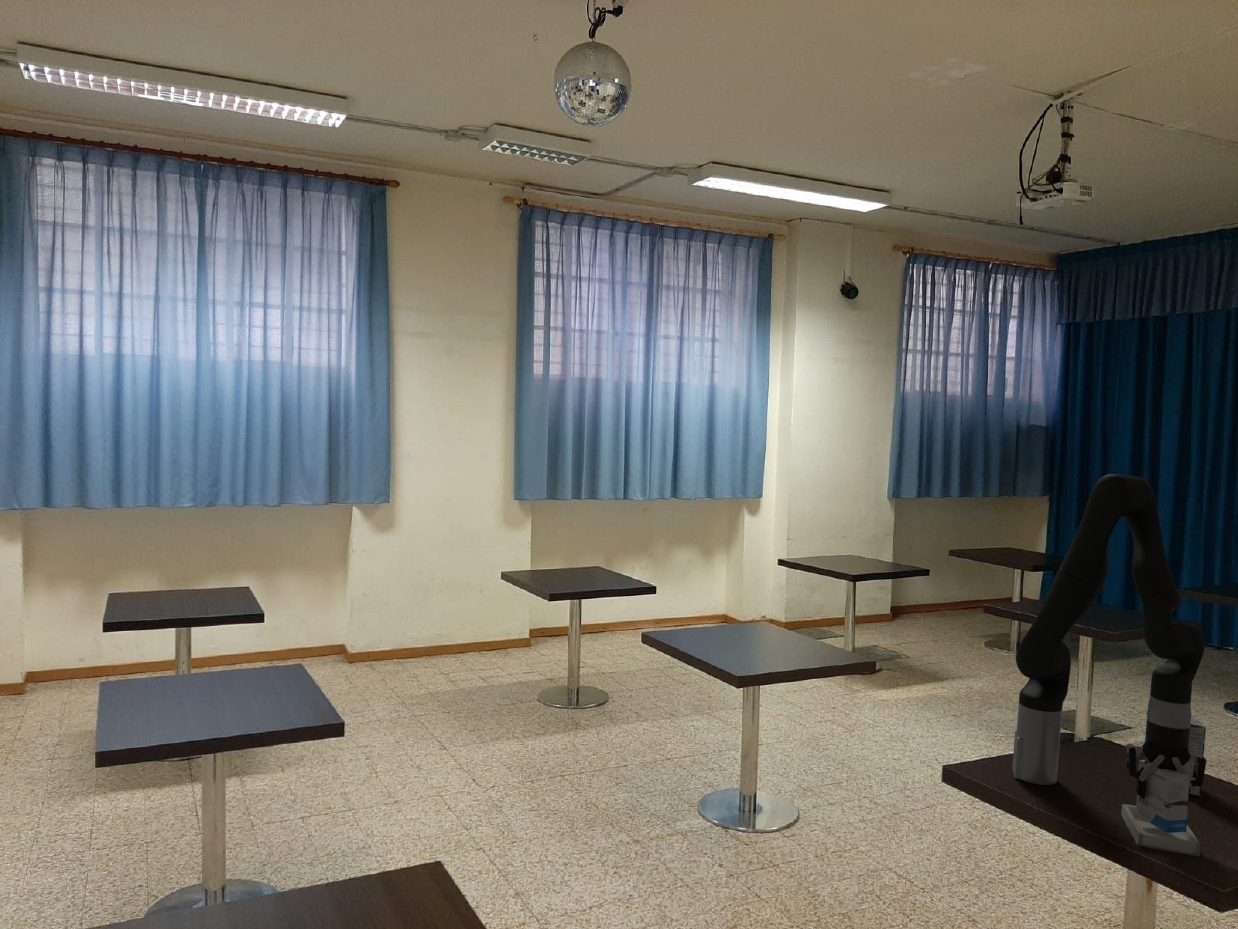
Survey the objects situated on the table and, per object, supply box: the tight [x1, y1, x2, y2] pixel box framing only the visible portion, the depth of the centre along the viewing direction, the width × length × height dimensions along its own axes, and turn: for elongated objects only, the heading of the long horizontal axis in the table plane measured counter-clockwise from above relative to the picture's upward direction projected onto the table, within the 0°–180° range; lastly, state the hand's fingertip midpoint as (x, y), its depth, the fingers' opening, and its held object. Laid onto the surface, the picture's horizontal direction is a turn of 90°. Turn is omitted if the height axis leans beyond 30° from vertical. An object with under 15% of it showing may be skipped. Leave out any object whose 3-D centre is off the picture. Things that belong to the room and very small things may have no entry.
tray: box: [1120, 803, 1202, 857], centre depth 180 cm, size 11×15×2 cm
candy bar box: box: [1182, 715, 1207, 797], centre depth 205 cm, size 11×5×16 cm, turn 168°
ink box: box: [1135, 759, 1189, 833], centre depth 179 cm, size 9×5×12 cm, turn 9°
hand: (1161, 800), depth 179 cm, fingers closed on ink box, 6 cm apart
